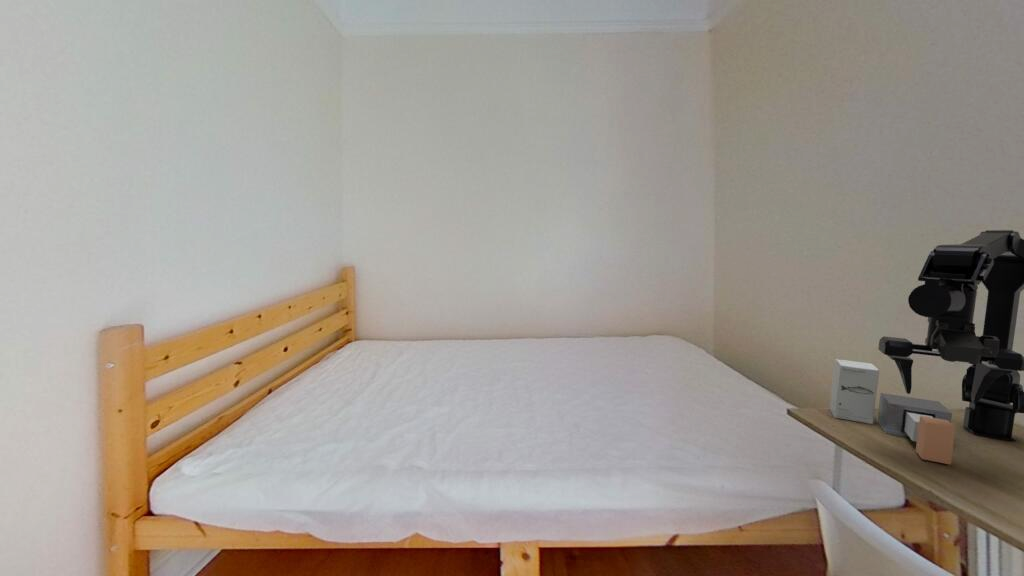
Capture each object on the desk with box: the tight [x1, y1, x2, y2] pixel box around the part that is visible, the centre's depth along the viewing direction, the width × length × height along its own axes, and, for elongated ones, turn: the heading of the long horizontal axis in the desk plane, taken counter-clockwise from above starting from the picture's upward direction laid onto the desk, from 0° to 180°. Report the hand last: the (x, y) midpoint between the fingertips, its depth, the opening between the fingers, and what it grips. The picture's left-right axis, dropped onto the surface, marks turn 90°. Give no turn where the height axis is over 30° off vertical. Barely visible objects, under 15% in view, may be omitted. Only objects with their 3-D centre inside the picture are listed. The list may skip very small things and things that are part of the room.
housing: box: [876, 392, 953, 438], centre depth 98 cm, size 10×8×7 cm
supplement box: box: [829, 358, 880, 425], centre depth 106 cm, size 7×7×13 cm
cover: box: [904, 412, 956, 466], centre depth 89 cm, size 4×12×7 cm, turn 151°
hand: (940, 398), depth 84 cm, fingers open, 9 cm apart
